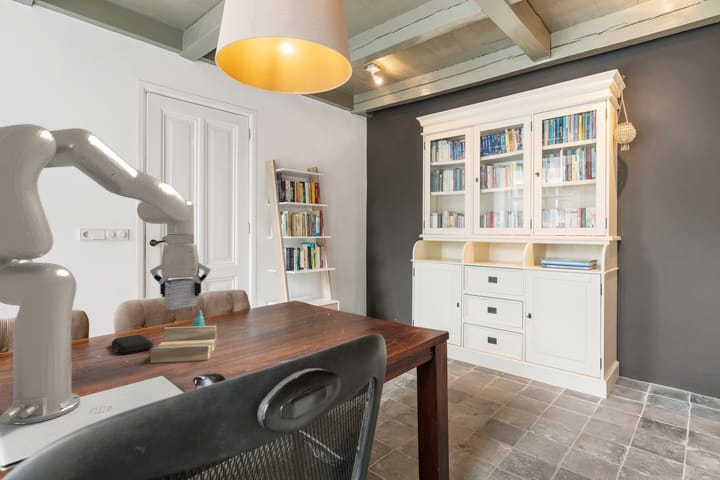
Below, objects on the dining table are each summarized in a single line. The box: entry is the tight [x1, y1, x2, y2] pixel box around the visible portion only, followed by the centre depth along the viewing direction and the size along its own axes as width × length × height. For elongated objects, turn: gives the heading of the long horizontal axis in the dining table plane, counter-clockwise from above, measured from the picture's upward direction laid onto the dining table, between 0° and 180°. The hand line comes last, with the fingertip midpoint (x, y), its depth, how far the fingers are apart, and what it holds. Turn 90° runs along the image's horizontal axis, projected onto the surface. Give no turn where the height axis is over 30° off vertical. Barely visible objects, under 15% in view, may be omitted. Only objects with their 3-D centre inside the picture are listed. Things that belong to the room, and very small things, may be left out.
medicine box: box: [164, 277, 197, 311], centre depth 116 cm, size 8×4×9 cm, turn 143°
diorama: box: [190, 309, 206, 327], centre depth 142 cm, size 12×20×9 cm, turn 140°
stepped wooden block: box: [149, 325, 217, 364], centre depth 119 cm, size 14×16×7 cm
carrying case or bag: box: [111, 334, 154, 355], centre depth 124 cm, size 11×3×15 cm
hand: (181, 296), depth 116 cm, fingers closed on medicine box, 8 cm apart
